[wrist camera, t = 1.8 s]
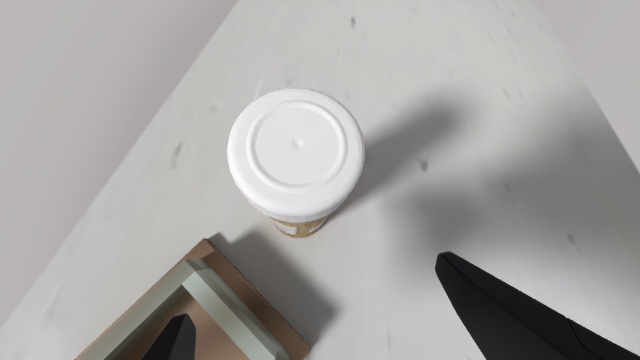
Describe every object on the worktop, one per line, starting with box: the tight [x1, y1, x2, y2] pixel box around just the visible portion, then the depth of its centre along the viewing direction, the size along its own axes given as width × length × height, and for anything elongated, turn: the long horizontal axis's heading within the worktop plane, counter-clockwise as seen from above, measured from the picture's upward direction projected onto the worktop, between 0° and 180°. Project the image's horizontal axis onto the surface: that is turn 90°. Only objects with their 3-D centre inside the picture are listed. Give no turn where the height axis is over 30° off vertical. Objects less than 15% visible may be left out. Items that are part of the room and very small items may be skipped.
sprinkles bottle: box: [227, 88, 365, 238], centre depth 14 cm, size 5×5×13 cm
